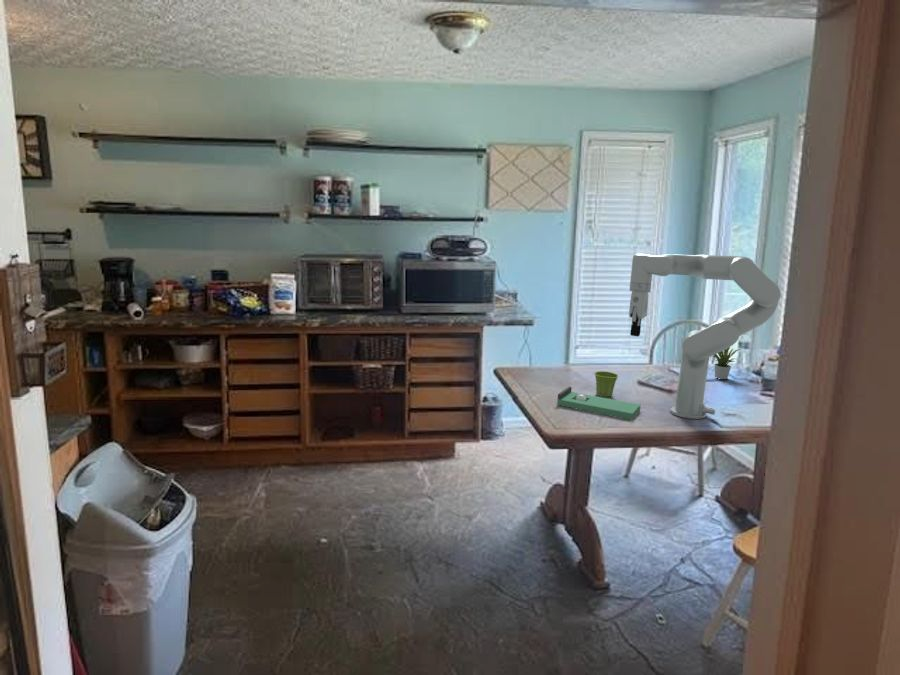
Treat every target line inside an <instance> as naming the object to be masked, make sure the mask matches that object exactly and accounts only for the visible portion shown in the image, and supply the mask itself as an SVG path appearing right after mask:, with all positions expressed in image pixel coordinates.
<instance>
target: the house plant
mask: <svg viewBox="0 0 900 675" xmlns="http://www.w3.org/2000/svg"><path fill="white" fill-rule="evenodd" d="M730 348H731V346H730V347H729V348H727V349H725V350H723V351H721V352H719V353H716V354H714V355H712V356H710V357H709V358H711V357H712V358H715V359H716V360H715V362H717V363H714V364H713V365H714V366H713V367H714V378H715V377H717V378H720V379H727V380H728V378H729V374H730V371H731V368H732V366H731V365H730V363H733V362H734V363H735V362H736V361H735V360H737V361H738V359H736V358H731V357H732V356H733V355H735V353H737V352H738V351H739V350H741V348H739V349H735V350H734V347H732V348H731V349H730ZM729 350H730V351H729ZM730 358H731V359H730Z"/></svg>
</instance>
